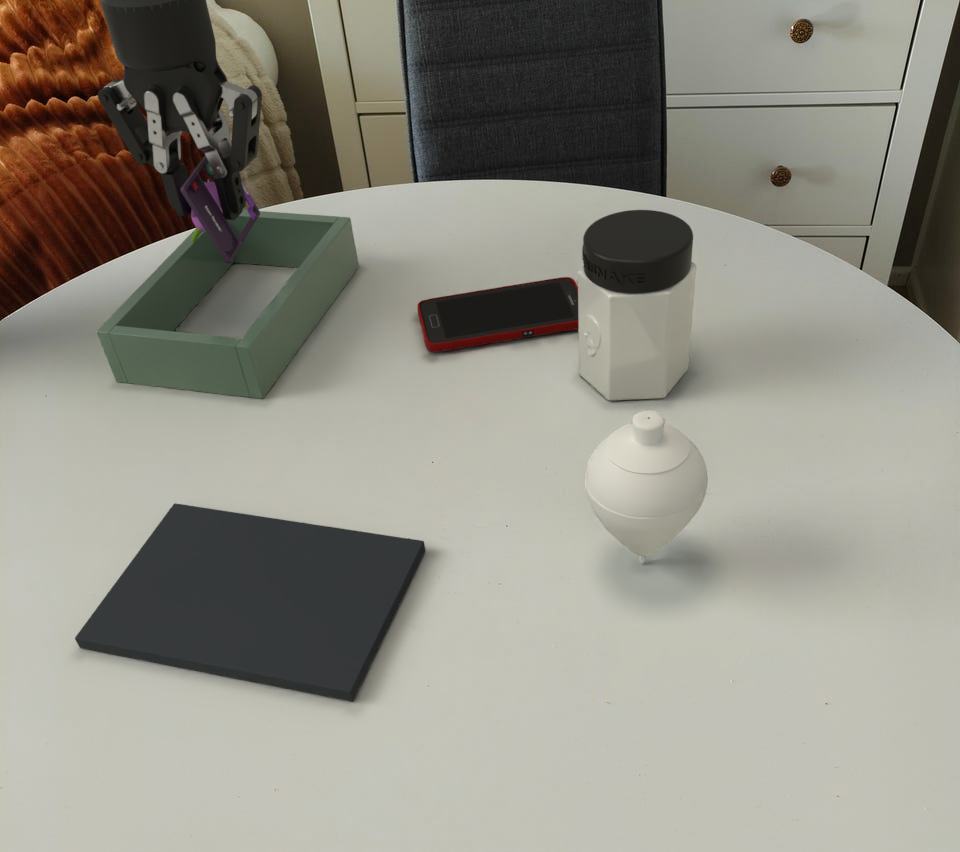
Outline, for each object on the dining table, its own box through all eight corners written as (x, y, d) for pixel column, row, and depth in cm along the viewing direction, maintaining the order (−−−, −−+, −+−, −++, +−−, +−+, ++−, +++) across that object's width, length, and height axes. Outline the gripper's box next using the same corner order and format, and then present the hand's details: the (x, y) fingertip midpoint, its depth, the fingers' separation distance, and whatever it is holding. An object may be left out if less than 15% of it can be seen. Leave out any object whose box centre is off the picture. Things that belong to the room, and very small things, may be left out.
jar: (562, 363, 87) (559, 227, 78) (643, 333, 89) (649, 196, 80) (620, 416, 81) (624, 276, 72) (705, 382, 83) (719, 242, 74)
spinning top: (721, 558, 70) (740, 412, 61) (649, 620, 67) (658, 475, 58) (634, 510, 74) (640, 366, 65) (562, 566, 71) (557, 423, 62)
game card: (190, 184, 81) (225, 137, 87) (139, 206, 83) (176, 159, 89) (237, 260, 86) (267, 210, 92) (187, 279, 88) (220, 229, 94)
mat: (79, 648, 69) (73, 638, 68) (178, 512, 78) (174, 502, 77) (353, 702, 64) (350, 692, 63) (426, 550, 73) (424, 540, 72)
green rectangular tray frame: (116, 381, 91) (95, 331, 87) (228, 256, 104) (215, 207, 101) (262, 399, 87) (248, 347, 83) (359, 266, 101) (350, 217, 97)
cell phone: (416, 310, 94) (415, 300, 93) (573, 284, 95) (573, 274, 94) (427, 355, 89) (426, 345, 88) (593, 328, 90) (593, 318, 89)
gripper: (259, -29, 76) (303, 200, 88) (93, -33, 79) (159, 188, 92) (212, 5, 71) (266, 242, 84) (38, -1, 75) (115, 228, 87)
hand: (210, 213), depth 88 cm, fingers closed on game card, 4 cm apart
